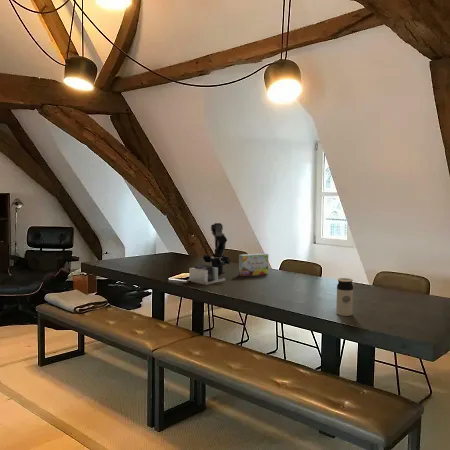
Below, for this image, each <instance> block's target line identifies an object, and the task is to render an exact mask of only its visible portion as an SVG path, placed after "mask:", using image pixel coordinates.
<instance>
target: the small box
mask: <svg viewBox="0 0 450 450" xmlns="http://www.w3.org/2000/svg"><path fill="white" fill-rule="evenodd" d="M194 268H198V269H204V270H208V282H209V281H212V268H213V266H212V265H208V264H207V265H206V264H198V265H195V266H194Z"/></svg>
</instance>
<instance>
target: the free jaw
mask: <svg viewBox="0 0 450 450" xmlns="http://www.w3.org/2000/svg"><path fill="white" fill-rule="evenodd" d="M218 279H219V274H218V268H216V267H213V268H212V281H213V280H218Z"/></svg>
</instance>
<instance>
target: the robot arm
mask: <svg viewBox="0 0 450 450" xmlns="http://www.w3.org/2000/svg"><path fill="white" fill-rule="evenodd" d="M223 228H224V227H223V224H222V223H220V222H214V223H213V224H211V226H210V231H211V234H212V235H213V237H214V253H212V256H211V255H210V254H203V256H202V259H203V261H204V262H205V263H211V266H213V267H216V268H218V275H219V274H220V275H221V274H225V271H224V265H230V263H231V259H230V257H229V256H228V255H225V254H224V252H225V249H226V245H227V242H228V239H227V237H226V235H225V234H224V233H223Z"/></svg>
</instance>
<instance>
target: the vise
mask: <svg viewBox="0 0 450 450" xmlns="http://www.w3.org/2000/svg"><path fill="white" fill-rule="evenodd" d="M188 272H189V277H188V278H187V281H188V280H189V281H191V282H190V283H195V284H200V285H210V284H211V285H212V284H215V283H216V284H217V283H221V282H225V281H226V278H225V277H223V278H218V280H213V281H209V282H208V270H204V269H198V268H195V267H189V269H188ZM189 281H188V282H189Z"/></svg>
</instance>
